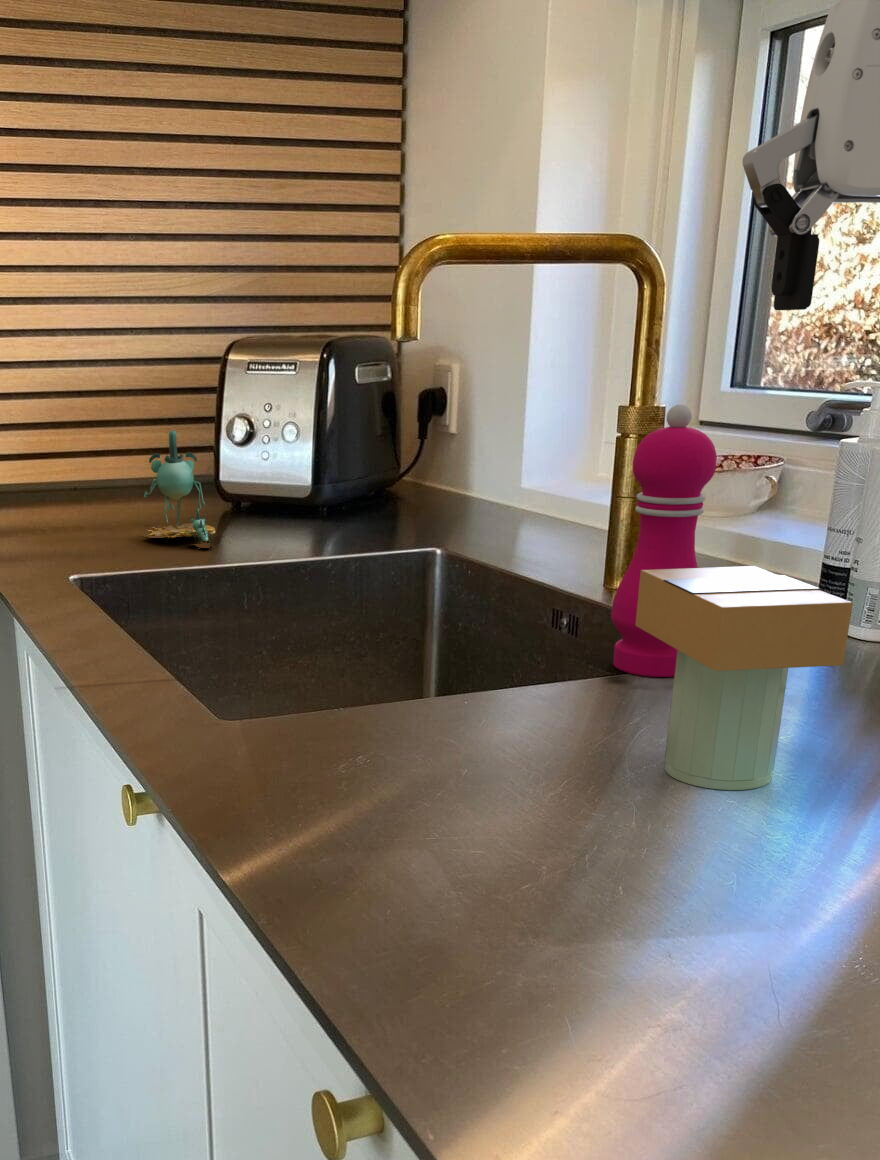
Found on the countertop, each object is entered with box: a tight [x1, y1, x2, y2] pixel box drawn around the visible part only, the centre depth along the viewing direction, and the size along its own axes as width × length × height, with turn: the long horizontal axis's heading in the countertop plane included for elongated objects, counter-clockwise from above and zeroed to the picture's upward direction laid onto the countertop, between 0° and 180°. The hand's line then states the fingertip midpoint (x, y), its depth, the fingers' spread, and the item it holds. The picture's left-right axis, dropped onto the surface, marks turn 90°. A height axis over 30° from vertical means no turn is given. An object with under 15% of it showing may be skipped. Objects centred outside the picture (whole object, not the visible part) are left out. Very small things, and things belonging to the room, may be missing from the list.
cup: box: [664, 650, 789, 791], centre depth 73 cm, size 6×6×8 cm
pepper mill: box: [610, 404, 717, 678], centre depth 93 cm, size 7×7×20 cm
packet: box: [636, 565, 854, 671], centre depth 70 cm, size 11×7×4 cm
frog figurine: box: [143, 429, 216, 550], centre depth 156 cm, size 10×18×15 cm, turn 13°
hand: (867, 308), depth 73 cm, fingers open, 9 cm apart
